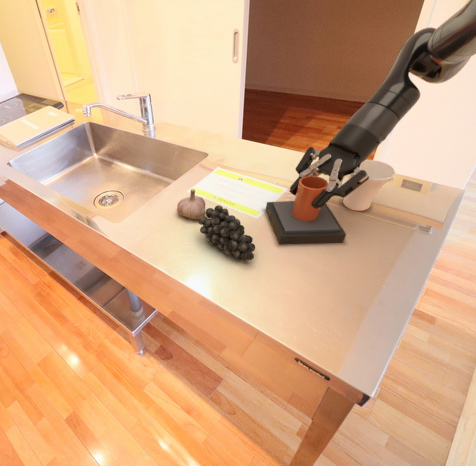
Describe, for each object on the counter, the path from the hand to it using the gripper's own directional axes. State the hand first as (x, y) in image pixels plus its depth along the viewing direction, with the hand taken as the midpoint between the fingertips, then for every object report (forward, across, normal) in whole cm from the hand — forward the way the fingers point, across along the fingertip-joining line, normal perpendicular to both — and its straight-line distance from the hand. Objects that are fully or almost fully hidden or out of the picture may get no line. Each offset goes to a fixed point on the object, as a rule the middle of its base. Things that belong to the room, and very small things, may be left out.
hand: (302, 199), depth 69 cm
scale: (+4, 0, +7) cm, 8 cm away
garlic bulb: (+18, -17, -7) cm, 26 cm away
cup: (-7, +1, +19) cm, 20 cm away
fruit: (+18, -2, -7) cm, 19 cm away
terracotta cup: (+2, 0, +5) cm, 5 cm away
